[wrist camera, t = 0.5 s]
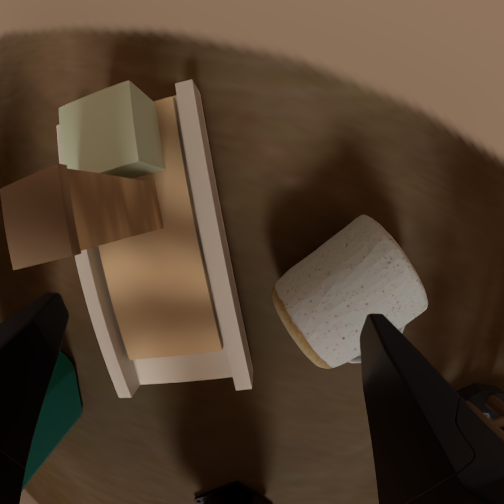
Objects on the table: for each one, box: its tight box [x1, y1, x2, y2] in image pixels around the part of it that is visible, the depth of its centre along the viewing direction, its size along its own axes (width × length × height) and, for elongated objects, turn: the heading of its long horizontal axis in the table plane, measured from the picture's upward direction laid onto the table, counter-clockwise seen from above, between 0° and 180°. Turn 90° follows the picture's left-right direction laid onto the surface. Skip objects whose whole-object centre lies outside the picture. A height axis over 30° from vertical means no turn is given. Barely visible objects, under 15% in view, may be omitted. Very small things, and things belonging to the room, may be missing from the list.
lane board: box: [57, 79, 253, 398], centre depth 22 cm, size 22×11×3 cm, turn 10°
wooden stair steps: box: [0, 96, 224, 360], centre depth 17 cm, size 18×8×13 cm, turn 11°
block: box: [59, 80, 165, 179], centre depth 18 cm, size 5×5×5 cm
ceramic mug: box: [272, 215, 428, 369], centre depth 20 cm, size 11×8×8 cm
